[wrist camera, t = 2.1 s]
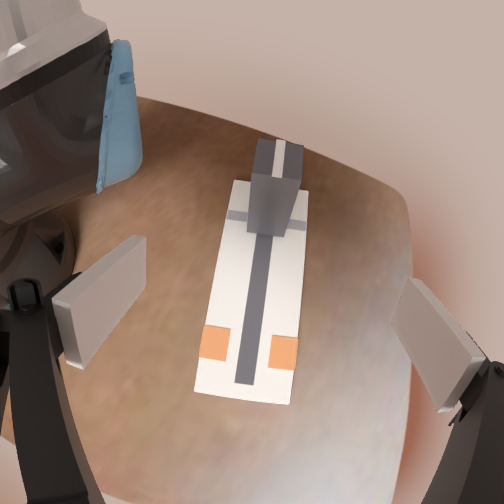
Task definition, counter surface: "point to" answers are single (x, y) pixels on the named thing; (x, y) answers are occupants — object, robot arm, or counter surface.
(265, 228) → the slider tab
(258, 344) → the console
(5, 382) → the robot arm
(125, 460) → the counter surface
